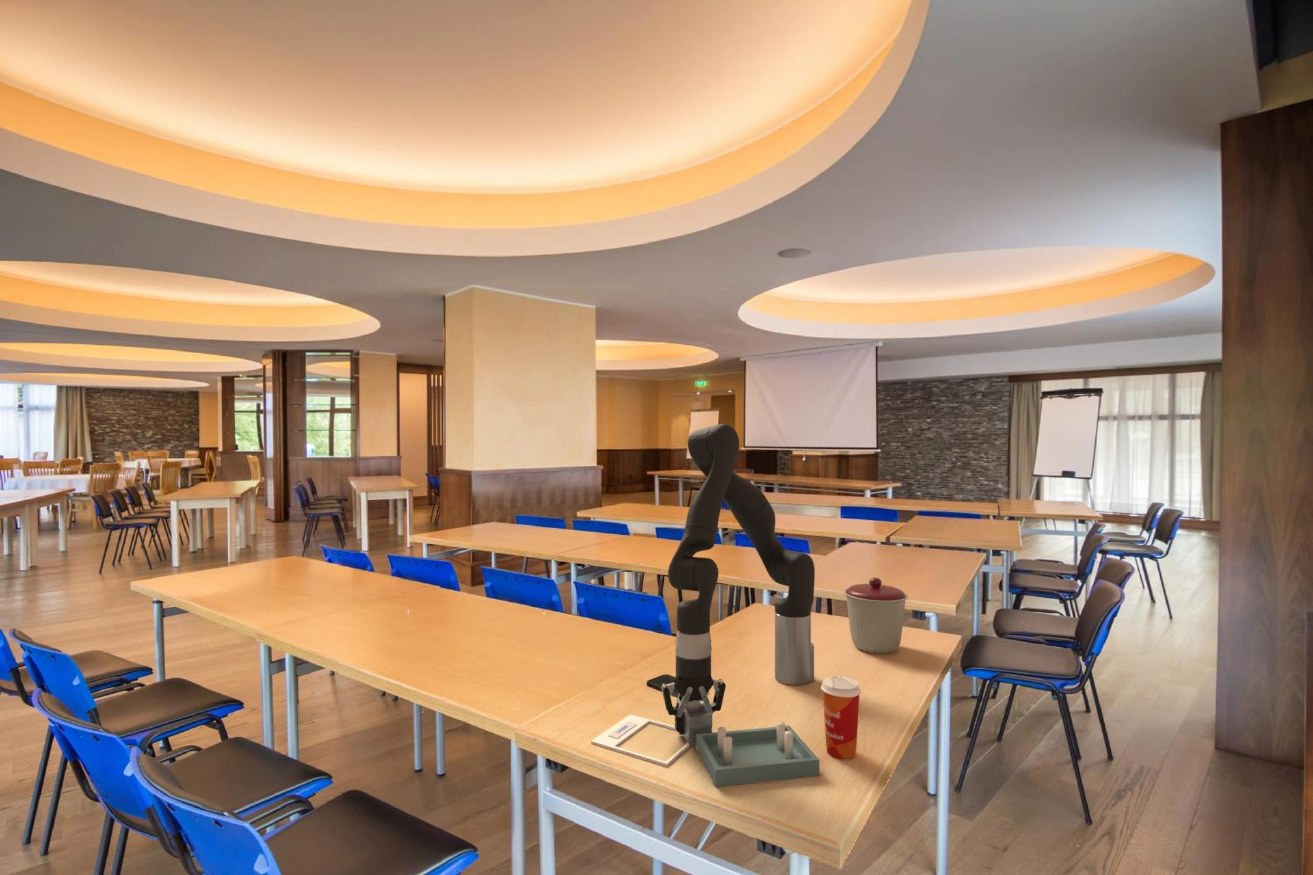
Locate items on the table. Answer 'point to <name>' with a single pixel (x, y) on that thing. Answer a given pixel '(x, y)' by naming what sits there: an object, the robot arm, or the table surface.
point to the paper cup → (841, 716)
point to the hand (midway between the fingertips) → (693, 731)
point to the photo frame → (626, 730)
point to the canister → (875, 616)
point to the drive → (695, 721)
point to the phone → (660, 680)
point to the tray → (755, 755)
